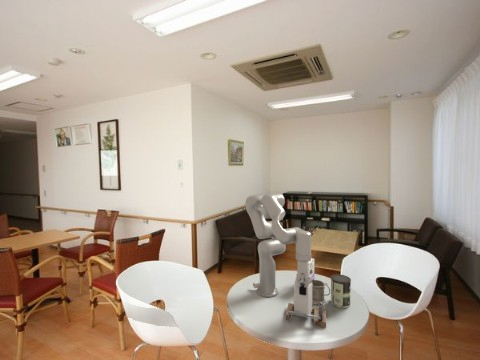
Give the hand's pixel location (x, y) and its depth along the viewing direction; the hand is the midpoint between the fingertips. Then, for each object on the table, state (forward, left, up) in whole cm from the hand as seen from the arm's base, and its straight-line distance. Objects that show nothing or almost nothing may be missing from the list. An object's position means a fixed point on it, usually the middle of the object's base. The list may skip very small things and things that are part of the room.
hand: (303, 290), depth 127 cm
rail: (+1, -5, -14) cm, 15 cm away
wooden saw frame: (+1, +1, -14) cm, 14 cm away
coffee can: (+19, +20, -14) cm, 31 cm away
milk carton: (0, 0, -12) cm, 12 cm away
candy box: (0, +34, -14) cm, 36 cm away
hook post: (+8, -5, -11) cm, 15 cm away
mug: (+8, +18, -14) cm, 24 cm away
